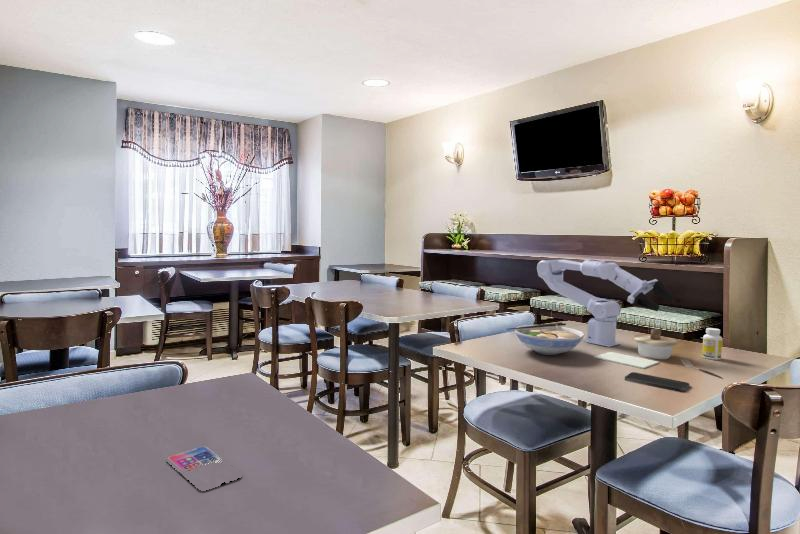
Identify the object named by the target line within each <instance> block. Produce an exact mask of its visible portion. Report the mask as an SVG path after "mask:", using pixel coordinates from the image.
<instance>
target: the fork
mask: <svg viewBox="0 0 800 534" xmlns="http://www.w3.org/2000/svg"><path fill="white" fill-rule="evenodd" d="M680 360H681V362H682V363H683V365H684V366H685V367H687V368H688V367H692V368H693V369H695V370H698V371H700V372H702V373H704V374H707V375H711V376H712V377H713V376H714V377H716V378H719V379H724V378H723V377H722V376H720V375H718V374H715V373H714V372H711V371H708V370H705V369H701V368H698V367H695V366H694V365H693V364H692V363H691V362H690V360H689V359H688V358H685V359H684V358H682V359H680Z"/></svg>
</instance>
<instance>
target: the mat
mask: <svg viewBox="0 0 800 534" xmlns="http://www.w3.org/2000/svg"><path fill="white" fill-rule="evenodd" d="M593 358H594V359H599V360H603V361H607V362H610V363H616V364H621V365H624V366H630V367H632V368H633V367H634V368H638V369H642V370H643V369H646V368H649V367H652V366H654V365H657V364H660V361H657V360H654V359H652V360H651V359H649V358H643V357H637V356H632V355H627V354H624V353H623V354H622V353H619V352H614V351H607V352H605V353H601V354H598V355H594V356H593Z"/></svg>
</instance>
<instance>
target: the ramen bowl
mask: <svg viewBox="0 0 800 534" xmlns="http://www.w3.org/2000/svg"><path fill="white" fill-rule="evenodd" d="M566 325H567V323H563V322H562V321H561V322H554V323H553V322H552V323H543V324H525V325H519V326H517V327H511V328H506V330H514V331H515V334H516V336H517V338H518V339H519V341H520V342H521V343H522V344H523V345H524V346H525V347H526V348H528V349H531V350H532V351H534V352H536V353H538V354H540V355H544V356H556V355H557V356H558V355H560V354H562V353H566V352H569V351H571V350H573V349H575V348H576V347H577V346H578V345H579V344H580V343H581V341H582V340H583V338H584V337H585V333H584V332H583V331H581V330H578V329H576V328H570V327H566Z"/></svg>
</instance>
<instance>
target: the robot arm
mask: <svg viewBox="0 0 800 534" xmlns="http://www.w3.org/2000/svg"><path fill="white" fill-rule="evenodd" d="M536 265H537V266H536V271H537V276H538V277H539V278H541V279H542V280H543V281H544V283H545V284H546V285H547V287H548V288H549V289H550V290H551V291H552V292H555V293H557V294H559V295H561V296H563V297H564V298H566V299H569V300H571V301H572V302H575V303H576V304H579V305H580V306H582V307H584V308H585V309H587V311H588V312H589V314H592V316H593V317H591V318H590V319H589V320H588V321H587V327H586V340H585V343H589V344H593V345H598V346H603V347H609V348H611V347H614V346H618V345H620V342H617V341H616V334H617V320H618V317H619V316H620V314H621V311H622V310H621V309H622V308H621V305H620V304H619V303H618V302H617V301H615V300H608V299H605V298H602V297H601V298H600V297H597V296H594V295H593V294H591V293H588V292H587V291H585V290H583V289H580V288H578V287H577V286H574V285H573V284H570V283H568V282H566V281H564V271H566V270H568V271H569V270H570V271H577V272H578V271H579V272H580V273H582V275H584V276H589V277H590V276H591V277H595V278H600V279H602V280H608V281H610V282H612V283H613V284H615V285H616V286H617V287H620V288H621V289H623V290H624V291H626V292H628V293H629V294H630V295H629V296H627V300H626V302H628V303H630V304H633V306H634V307H636V308H645V309H649V310H652V311H655V312H658V311H659V309H660V305H659V304H657V303H656V302H655V301H653V300H651V299H650V298H649V297H648V296H647V295H646V294H647V293H649V292H650V291H653V293H652V296H657V297H659V298H662V299H665V300H667V301H669V302H673V301H674V297H675V296H674V295H673V294H672V293H671V292H670V291H669V290H668V289H667V287H665V285H664V284H663V282H662V280H660V279H656V278H654V279H652V280H649V281H647V280H646V279H644V280H642V279H641V278H638V277H637V276H635V275H633V274H631V273H630V272H628V271H627V270H624V269H623V268H621V267H620V266H619V264H617V263H616V262H613V261H612V262H606V261H605V260H601V261H598V260H597V261H596V260H594V259H593V258H588V259H585V260H583V262H579V261H574V260H569V259H568V260H567V259H550V260H544V259H542V260H540V261H539V262H538V263H537V264H536Z"/></svg>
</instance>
